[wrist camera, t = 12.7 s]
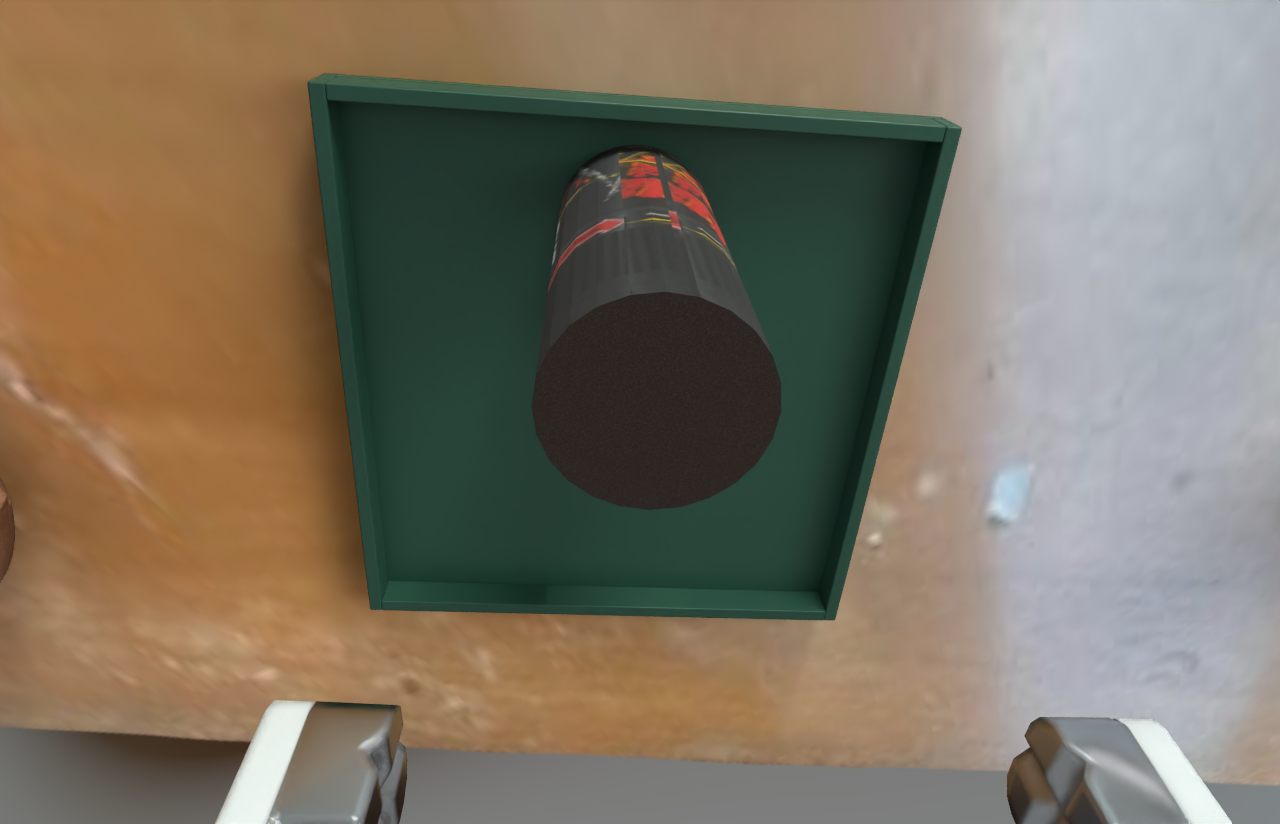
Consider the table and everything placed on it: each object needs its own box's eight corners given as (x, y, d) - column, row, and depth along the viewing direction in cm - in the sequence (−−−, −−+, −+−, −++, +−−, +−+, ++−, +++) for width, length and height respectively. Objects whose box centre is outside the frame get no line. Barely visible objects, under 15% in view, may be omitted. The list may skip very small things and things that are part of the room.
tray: (942, 117, 31) (962, 127, 30) (825, 593, 43) (835, 621, 42) (323, 73, 30) (306, 81, 28) (379, 582, 42) (369, 610, 40)
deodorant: (719, 275, 34) (795, 484, 21) (579, 305, 34) (567, 529, 21) (694, 128, 31) (764, 265, 18) (541, 163, 31) (500, 323, 18)
